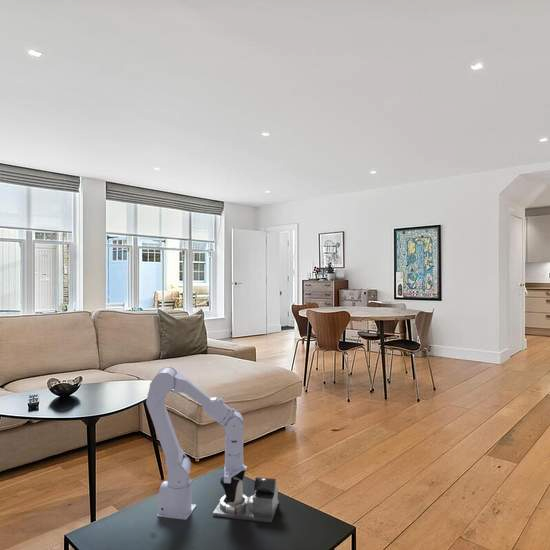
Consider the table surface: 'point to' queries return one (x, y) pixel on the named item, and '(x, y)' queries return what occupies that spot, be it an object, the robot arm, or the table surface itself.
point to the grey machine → (253, 503)
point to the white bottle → (238, 494)
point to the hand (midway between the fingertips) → (234, 495)
